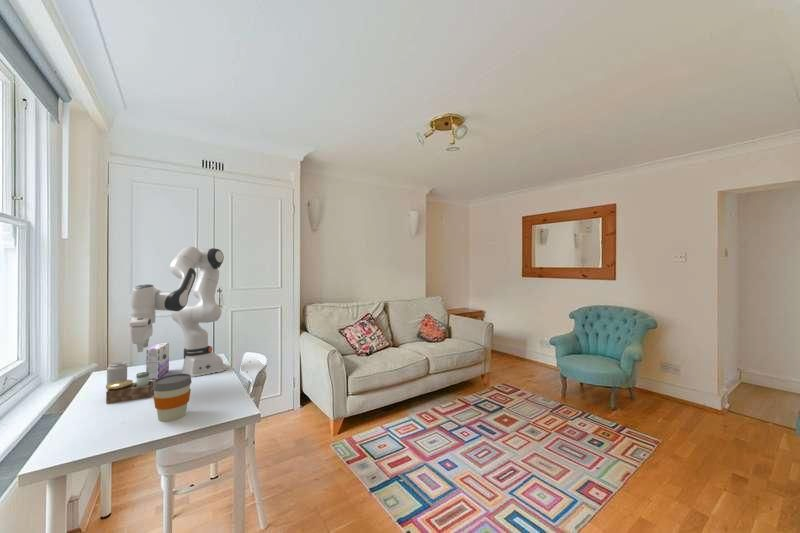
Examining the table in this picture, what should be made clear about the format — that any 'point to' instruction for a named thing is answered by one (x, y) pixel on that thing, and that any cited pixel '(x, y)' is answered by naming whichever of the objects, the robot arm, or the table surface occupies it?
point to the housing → (129, 393)
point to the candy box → (157, 360)
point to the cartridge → (142, 379)
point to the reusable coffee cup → (171, 396)
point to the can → (116, 372)
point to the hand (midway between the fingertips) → (143, 349)
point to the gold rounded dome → (119, 384)
